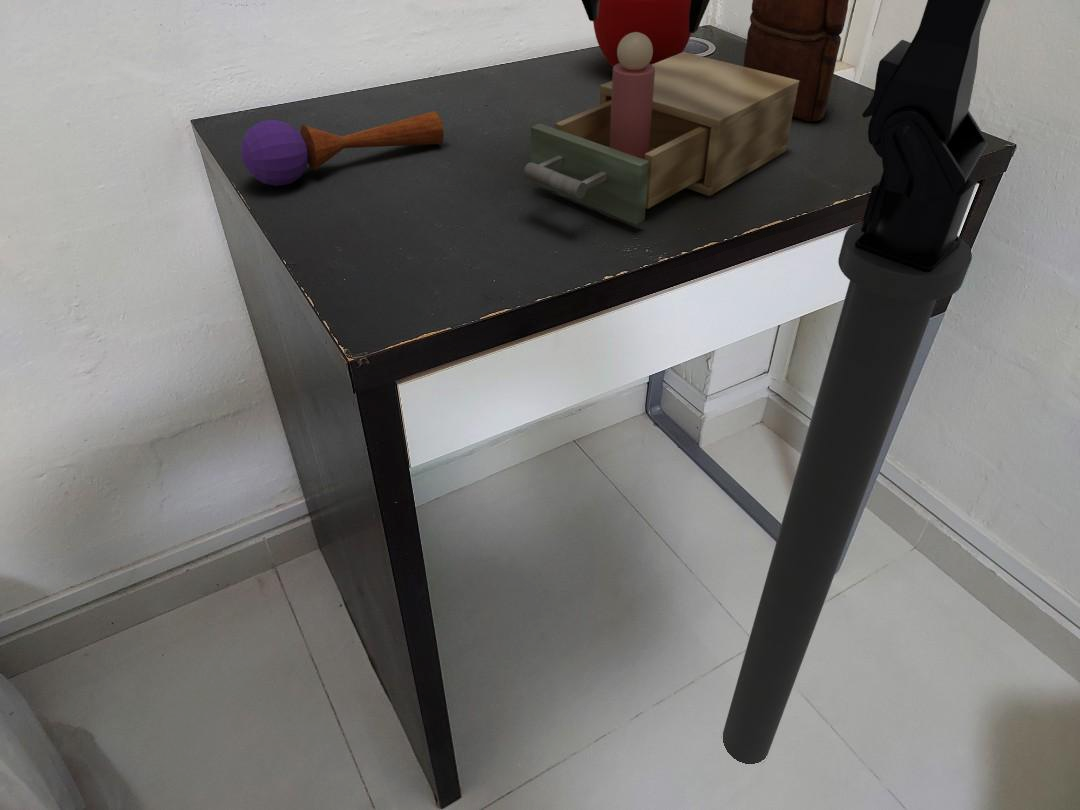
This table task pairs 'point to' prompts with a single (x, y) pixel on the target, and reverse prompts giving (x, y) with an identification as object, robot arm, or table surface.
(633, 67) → the doll
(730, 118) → the cabinet
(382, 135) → the kendama
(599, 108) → the drawer
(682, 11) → the ceramic cup
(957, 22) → the robot arm
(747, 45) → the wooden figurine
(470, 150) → the table surface
